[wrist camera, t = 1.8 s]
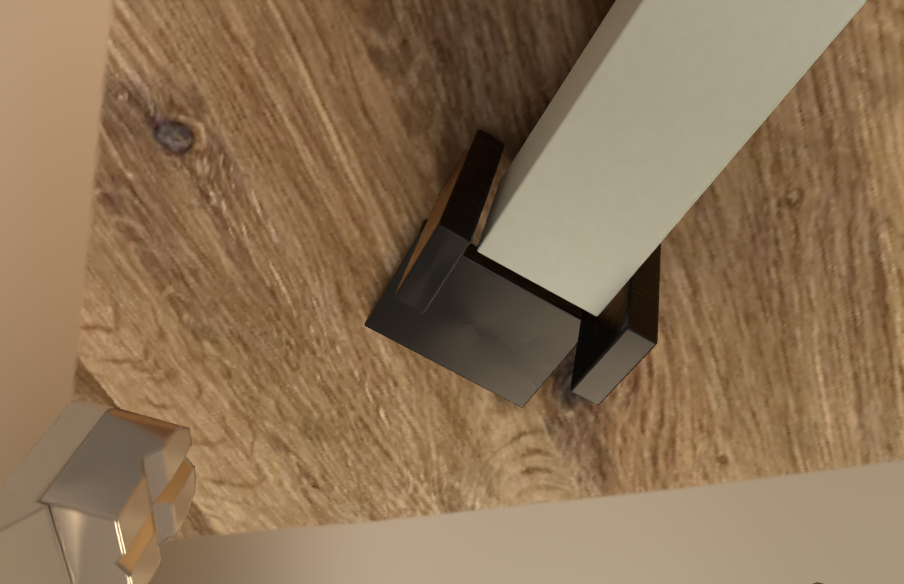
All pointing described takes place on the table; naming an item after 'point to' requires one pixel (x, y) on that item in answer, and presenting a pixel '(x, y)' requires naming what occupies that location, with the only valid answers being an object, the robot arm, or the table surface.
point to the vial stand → (506, 304)
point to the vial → (646, 133)
